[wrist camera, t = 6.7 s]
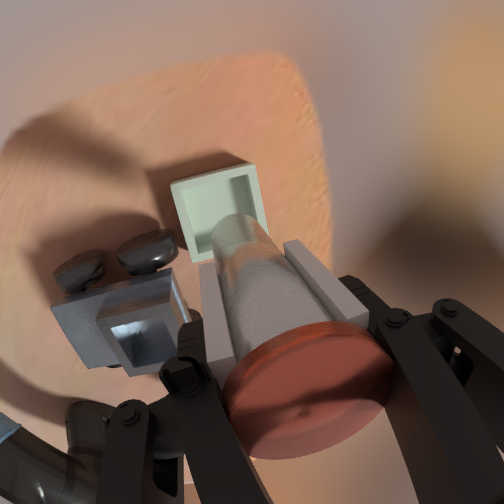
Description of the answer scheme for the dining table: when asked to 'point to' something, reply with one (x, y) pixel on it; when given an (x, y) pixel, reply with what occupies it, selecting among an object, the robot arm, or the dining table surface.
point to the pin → (290, 353)
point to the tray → (215, 203)
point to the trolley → (124, 306)
